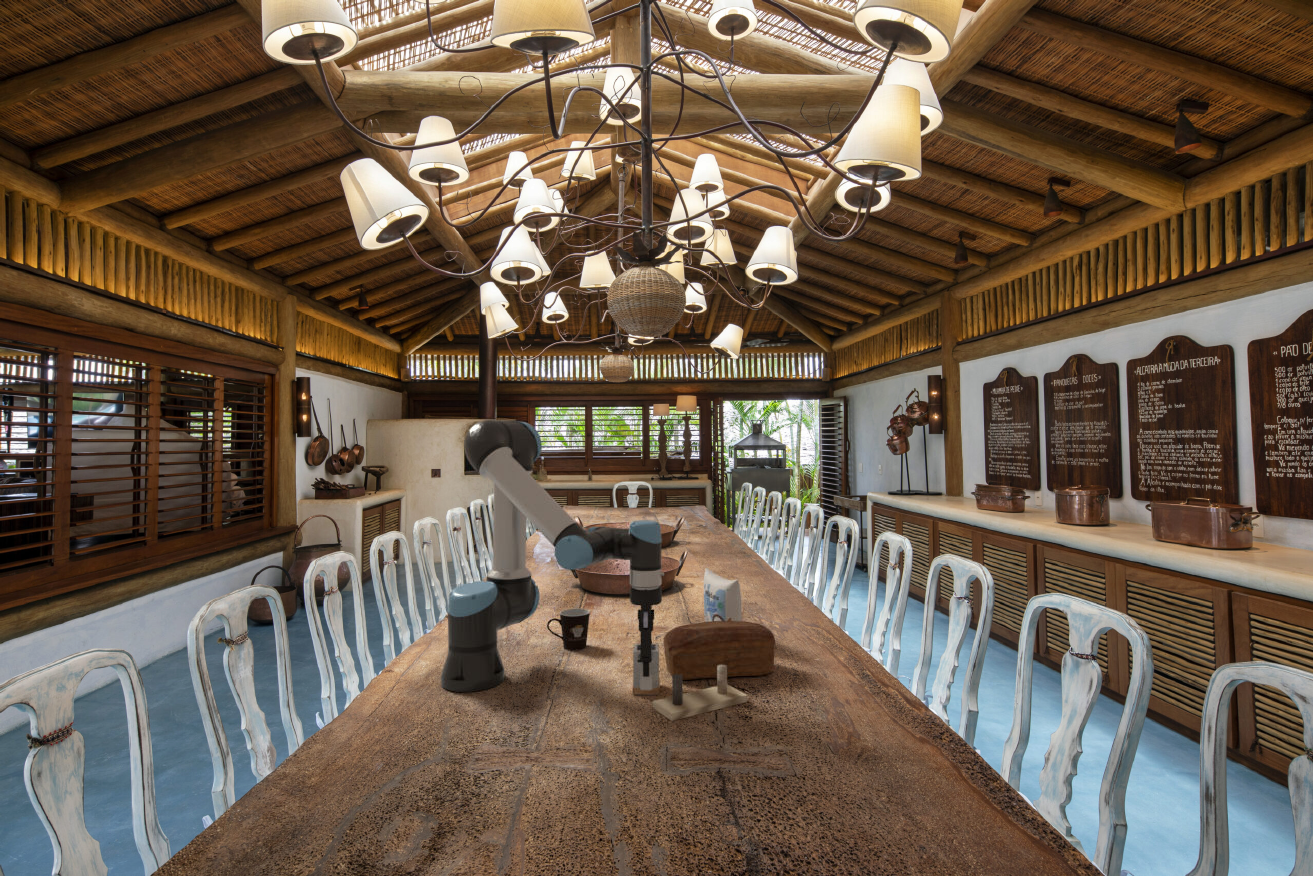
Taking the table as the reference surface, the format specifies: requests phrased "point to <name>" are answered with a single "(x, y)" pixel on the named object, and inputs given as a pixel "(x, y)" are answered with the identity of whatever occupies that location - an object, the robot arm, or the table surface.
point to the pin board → (699, 698)
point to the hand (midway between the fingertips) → (646, 683)
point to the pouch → (721, 598)
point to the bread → (719, 649)
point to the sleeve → (655, 671)
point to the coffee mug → (573, 628)
